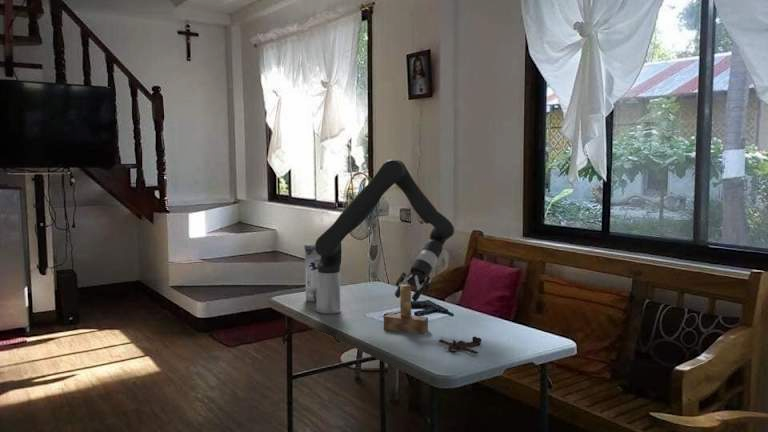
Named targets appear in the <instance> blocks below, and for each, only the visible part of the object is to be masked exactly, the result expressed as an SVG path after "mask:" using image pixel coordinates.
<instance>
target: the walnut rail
mask: <svg viewBox="0 0 768 432" xmlns="http://www.w3.org/2000/svg"><path fill="white" fill-rule="evenodd" d="M383 330H386V331H395V332H396V331H397V332H403V333H404V332H405V333H410V334H411V333H414V334H419V335H420V334H422V335H424V334H425V333H427V332H428V331H429V317H427V316H420V315H419V316H415V315H411V317H410V318H401V314H398V313H390V312H389V313H387V314H385V315H384V316H383Z"/></svg>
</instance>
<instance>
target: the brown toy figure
mask: <svg viewBox="0 0 768 432" xmlns="http://www.w3.org/2000/svg"><path fill="white" fill-rule="evenodd" d="M438 342H439V343H442V344H445V345H448V346H446V347H444V350H448V352H450V353H455V352H456V351H465V352H469V353H471V354H475V355H477V354H478V353H479V351H476V350H475V349H472V348H473V347H479V346H481V345H482V338H480V337H477V336H472V340H471V341H469V342H465V341H464V340H458V341H456V340H455V339H453V340H452V342H449V341H447V340H443V339H438Z"/></svg>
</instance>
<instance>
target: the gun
mask: <svg viewBox="0 0 768 432" xmlns="http://www.w3.org/2000/svg"><path fill="white" fill-rule="evenodd" d="M411 309H422V310H416V311H414V312H413V315H414V314H415V315H417V316H419V317H420V315H422V316H425V315H424V314H426V315H430V314H433V312H434V313H441V314H446V315H448V316H450V317H451V316H454V315H455V314H454V313H453V312H451V311H450V310H449V309H447V308H446V307H444V306H441V305H439V304H437V303H436V302H434V301H431V300H429V299H426V300H424V299H423V300H417V301H413V300H411ZM429 313H430V314H429ZM415 315H414V316H415Z"/></svg>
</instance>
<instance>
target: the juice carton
mask: <svg viewBox="0 0 768 432" xmlns="http://www.w3.org/2000/svg"><path fill="white" fill-rule="evenodd" d="M320 259H321V256H320V255H319V254H318V253H317V252H316V250H315V243H314V244H305V245H304V276H305V277H304V282H305V287H304V288H305V300H306V301H307V300H308V302H312V301H313V303H317V301H316V290H317V289H318V265H319V263H320Z"/></svg>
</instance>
